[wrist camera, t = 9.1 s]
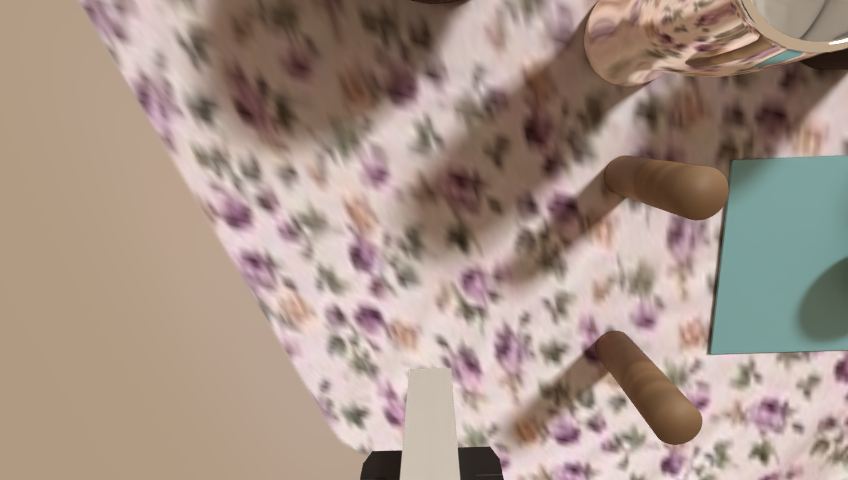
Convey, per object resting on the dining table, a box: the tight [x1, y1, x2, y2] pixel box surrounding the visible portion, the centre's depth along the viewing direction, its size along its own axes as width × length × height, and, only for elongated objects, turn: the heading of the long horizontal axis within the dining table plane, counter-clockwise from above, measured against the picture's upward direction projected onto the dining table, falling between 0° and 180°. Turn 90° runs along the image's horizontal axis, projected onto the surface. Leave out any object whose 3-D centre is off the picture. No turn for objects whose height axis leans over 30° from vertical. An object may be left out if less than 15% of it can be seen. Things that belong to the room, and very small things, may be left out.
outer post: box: [596, 331, 702, 445], centre depth 29 cm, size 3×3×9 cm
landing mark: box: [709, 155, 848, 354], centre depth 32 cm, size 14×14×1 cm
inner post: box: [604, 156, 729, 220], centre depth 26 cm, size 3×3×9 cm
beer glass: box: [584, 0, 848, 86], centre depth 21 cm, size 7×7×15 cm
